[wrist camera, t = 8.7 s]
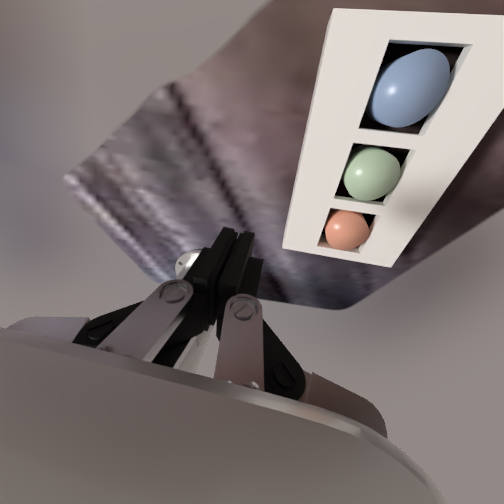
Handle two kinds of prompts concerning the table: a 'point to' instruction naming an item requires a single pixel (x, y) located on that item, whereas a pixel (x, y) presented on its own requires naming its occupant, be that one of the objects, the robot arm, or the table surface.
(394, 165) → the sage button
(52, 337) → the robot arm
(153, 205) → the table surface
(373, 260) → the button box
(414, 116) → the slate button
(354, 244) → the terracotta button
